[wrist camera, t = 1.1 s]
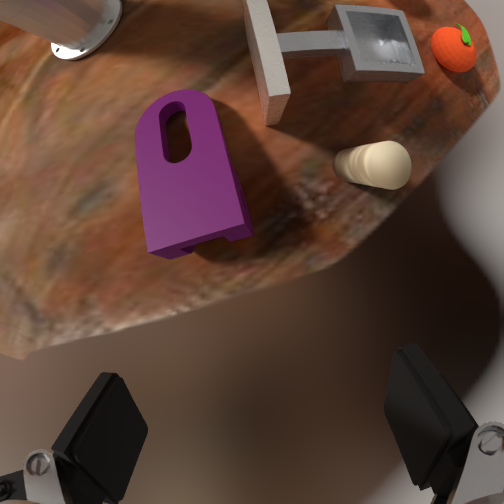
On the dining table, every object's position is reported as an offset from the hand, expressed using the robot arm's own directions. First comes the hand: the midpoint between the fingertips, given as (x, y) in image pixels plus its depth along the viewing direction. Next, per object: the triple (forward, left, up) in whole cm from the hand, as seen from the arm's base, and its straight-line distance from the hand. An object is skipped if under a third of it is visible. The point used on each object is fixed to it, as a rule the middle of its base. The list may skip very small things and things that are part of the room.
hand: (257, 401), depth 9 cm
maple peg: (-6, +12, -27) cm, 30 cm away
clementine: (-22, +31, -27) cm, 47 cm away
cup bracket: (-18, +10, -27) cm, 34 cm away
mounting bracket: (-9, -6, -27) cm, 30 cm away
